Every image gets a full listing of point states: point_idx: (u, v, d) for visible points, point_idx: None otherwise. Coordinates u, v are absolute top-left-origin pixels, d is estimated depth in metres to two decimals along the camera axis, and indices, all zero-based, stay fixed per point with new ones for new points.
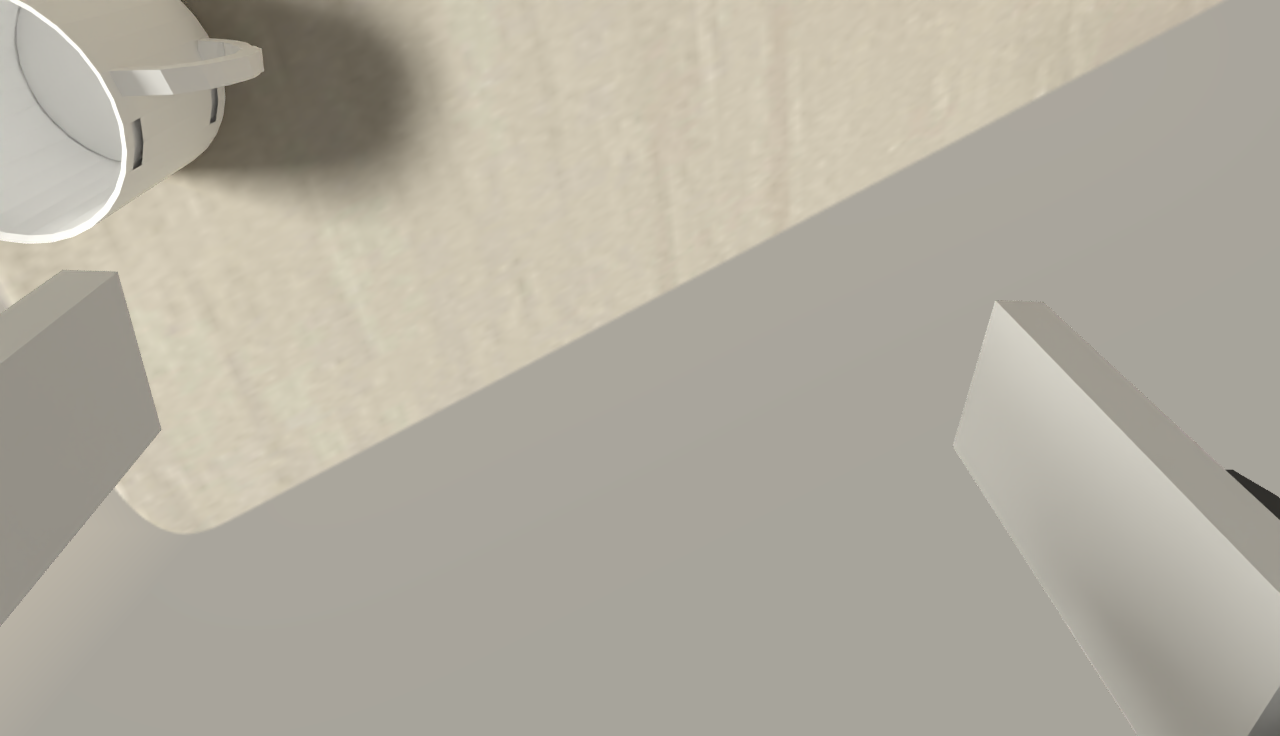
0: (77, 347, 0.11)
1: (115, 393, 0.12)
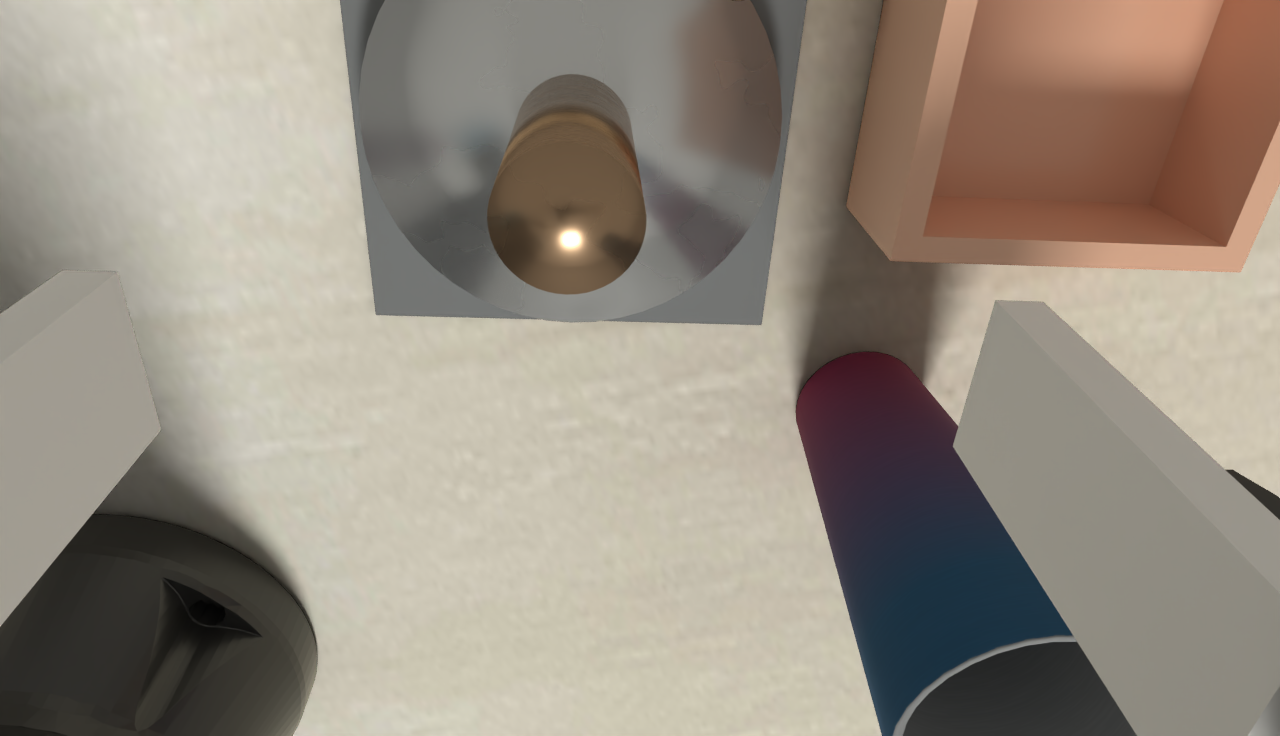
0: (77, 347, 0.11)
1: (115, 393, 0.12)
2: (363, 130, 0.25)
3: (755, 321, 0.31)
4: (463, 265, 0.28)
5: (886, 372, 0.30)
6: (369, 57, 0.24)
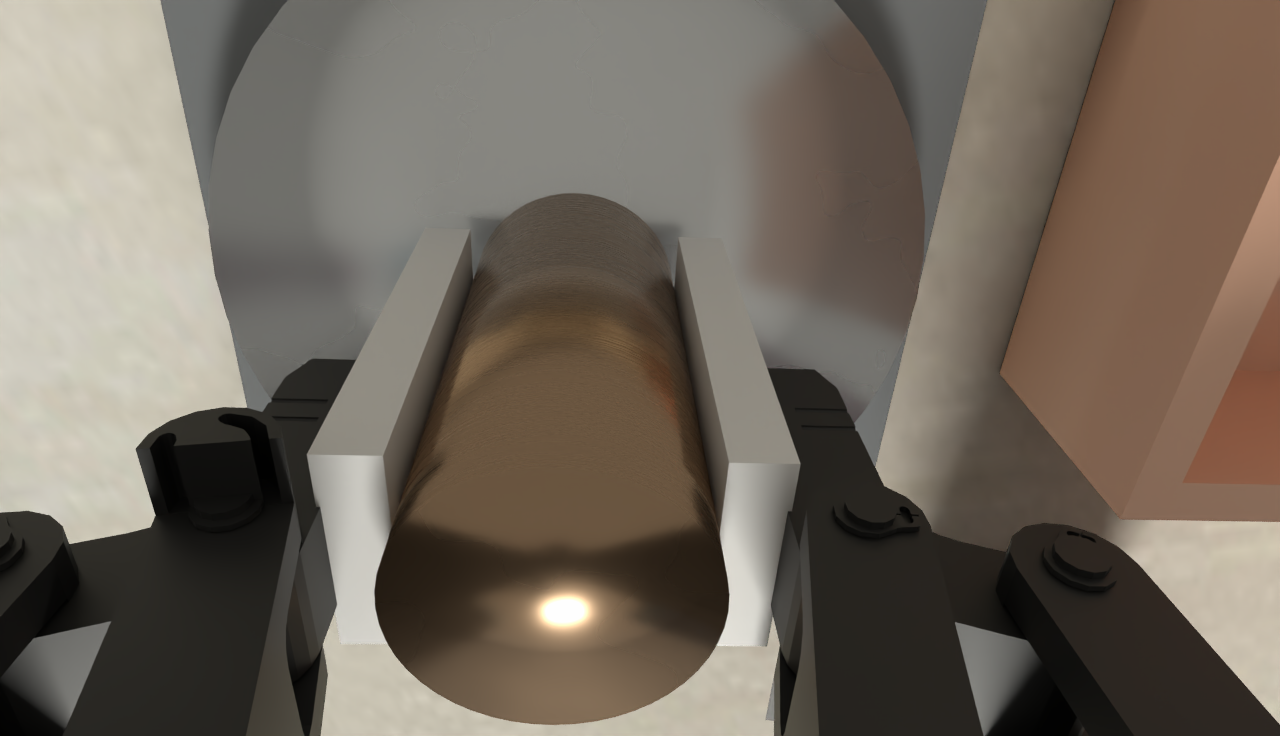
0: (460, 289, 0.13)
1: None
2: (221, 282, 0.15)
3: None
4: None
5: None
6: (221, 167, 0.14)
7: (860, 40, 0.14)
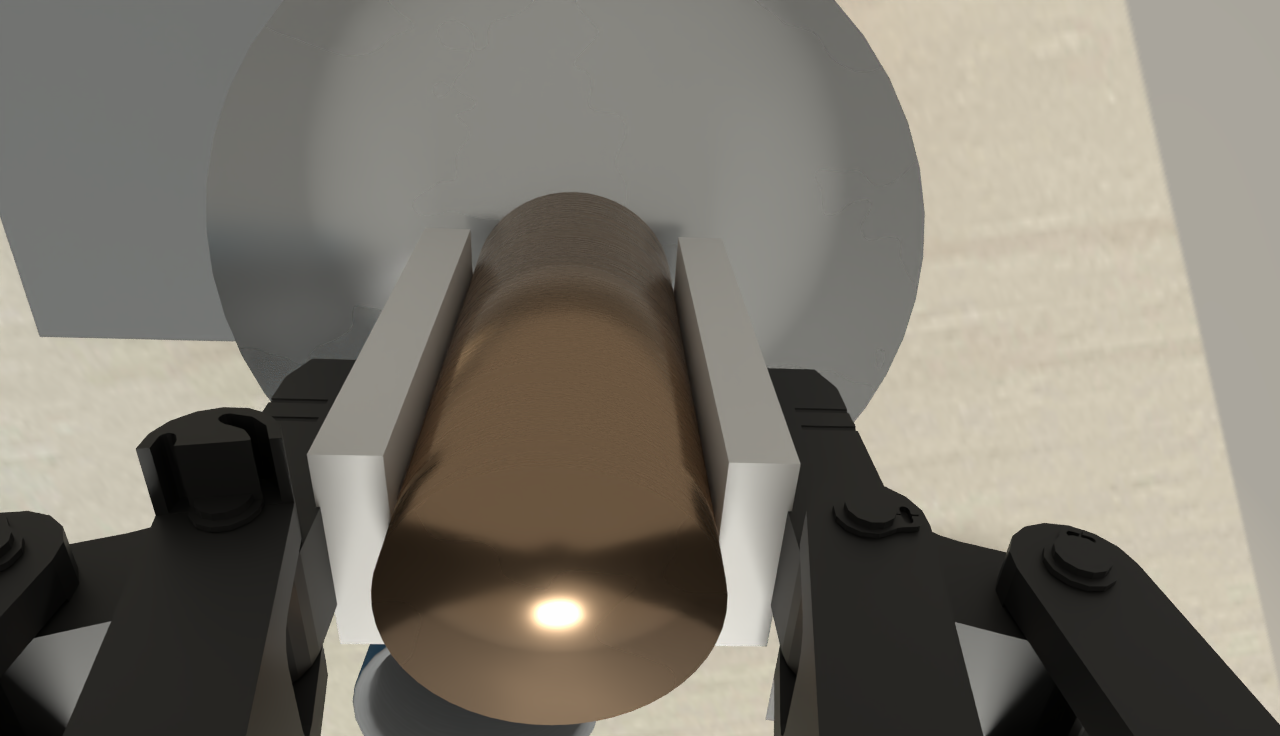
0: (461, 289, 0.13)
1: None
2: (219, 281, 0.15)
3: None
4: None
5: None
6: (218, 166, 0.14)
7: (859, 38, 0.13)
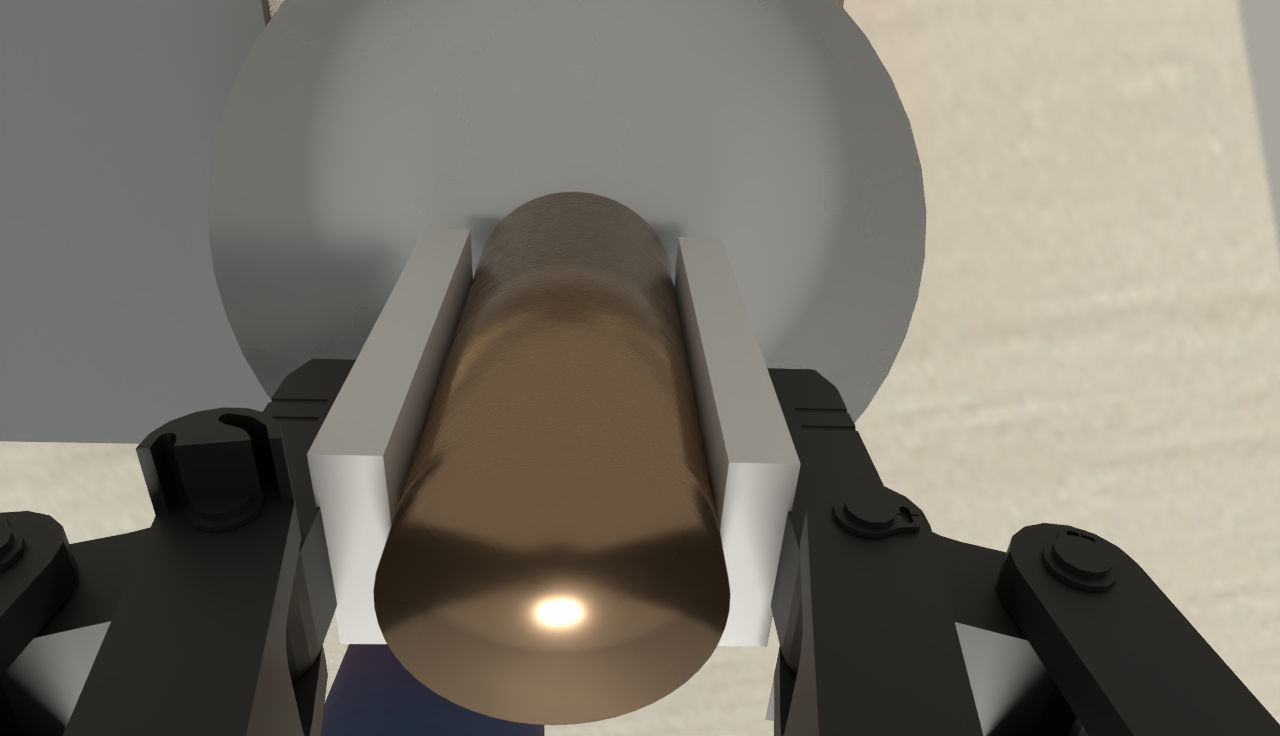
0: (461, 289, 0.13)
1: None
2: (220, 280, 0.15)
3: None
4: None
5: None
6: (220, 165, 0.14)
7: (861, 38, 0.13)
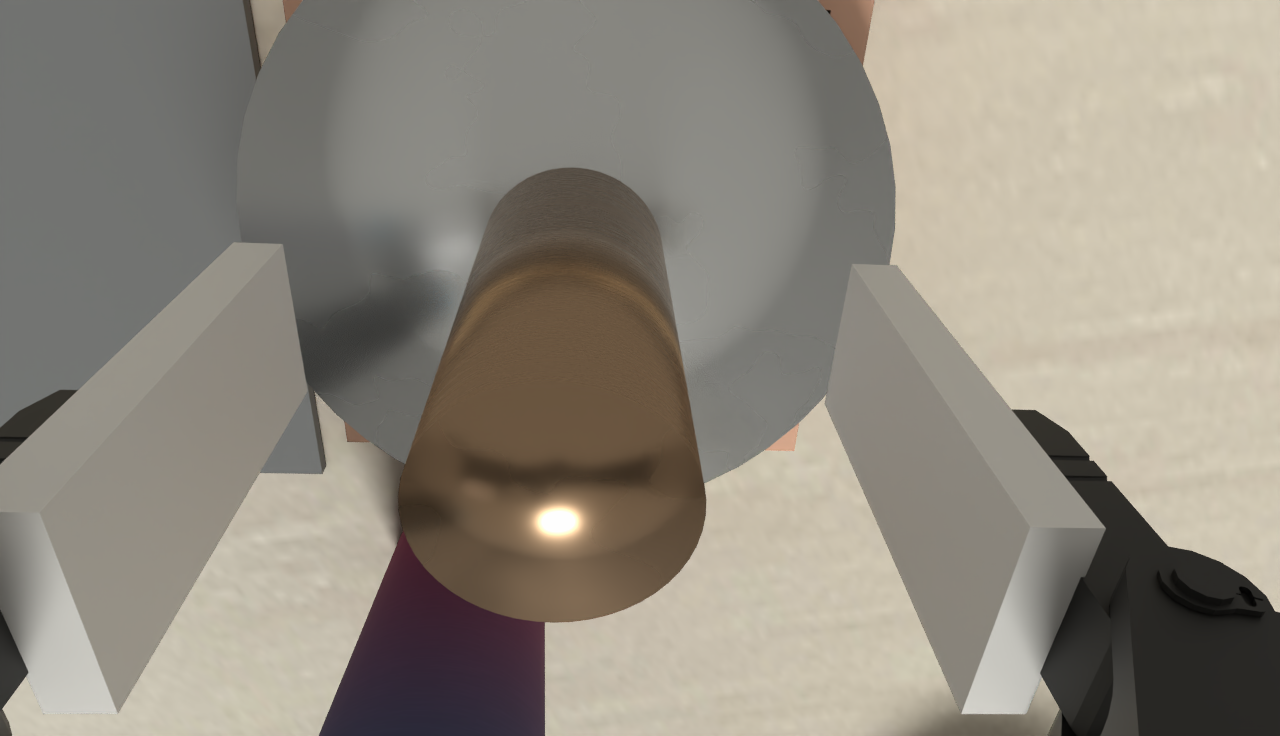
0: (258, 310, 0.12)
1: (280, 354, 0.13)
2: None
3: (313, 470, 0.26)
4: (408, 436, 0.19)
5: None
6: (248, 143, 0.15)
7: (833, 26, 0.15)
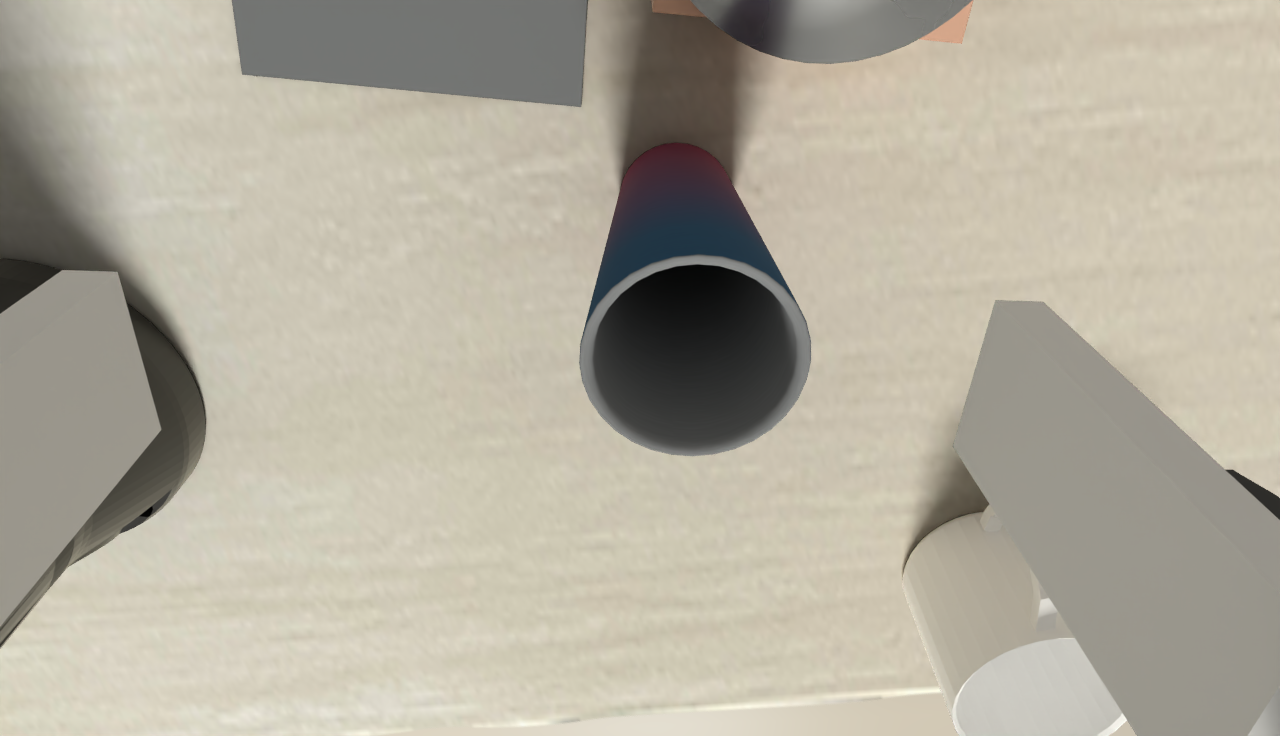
0: (77, 347, 0.11)
1: (115, 393, 0.12)
2: None
3: (575, 102, 0.35)
4: None
5: (686, 152, 0.34)
6: None
7: None
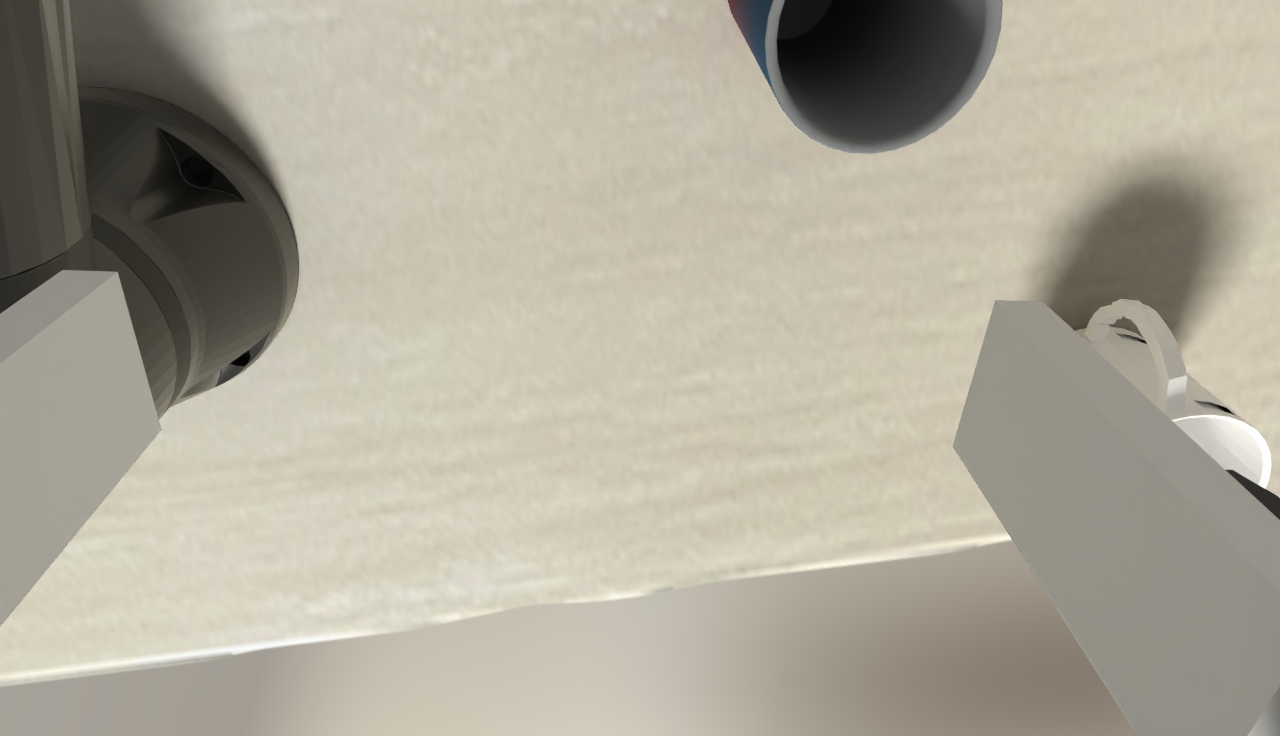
0: (77, 347, 0.11)
1: (115, 393, 0.12)
2: None
3: None
4: None
5: None
6: None
7: None
